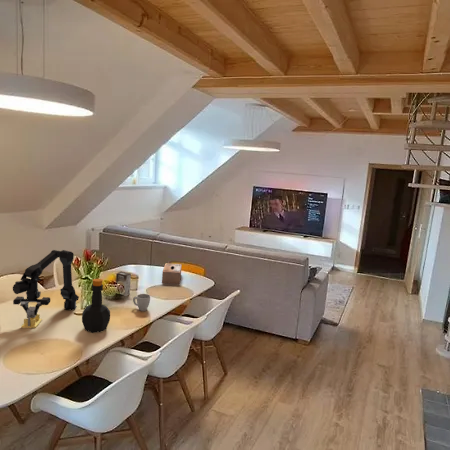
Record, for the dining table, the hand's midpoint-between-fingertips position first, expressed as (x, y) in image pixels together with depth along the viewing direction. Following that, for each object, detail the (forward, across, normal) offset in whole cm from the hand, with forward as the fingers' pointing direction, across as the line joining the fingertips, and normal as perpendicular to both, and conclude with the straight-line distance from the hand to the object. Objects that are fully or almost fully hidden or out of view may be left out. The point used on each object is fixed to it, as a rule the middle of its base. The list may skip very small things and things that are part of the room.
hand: (32, 314), depth 223 cm
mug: (+6, -61, -26) cm, 67 cm away
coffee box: (+6, -46, -54) cm, 71 cm away
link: (+1, 0, 0) cm, 1 cm away
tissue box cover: (+6, -83, -95) cm, 126 cm away
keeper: (+6, 0, 0) cm, 6 cm away
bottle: (+6, -37, +5) cm, 38 cm away
